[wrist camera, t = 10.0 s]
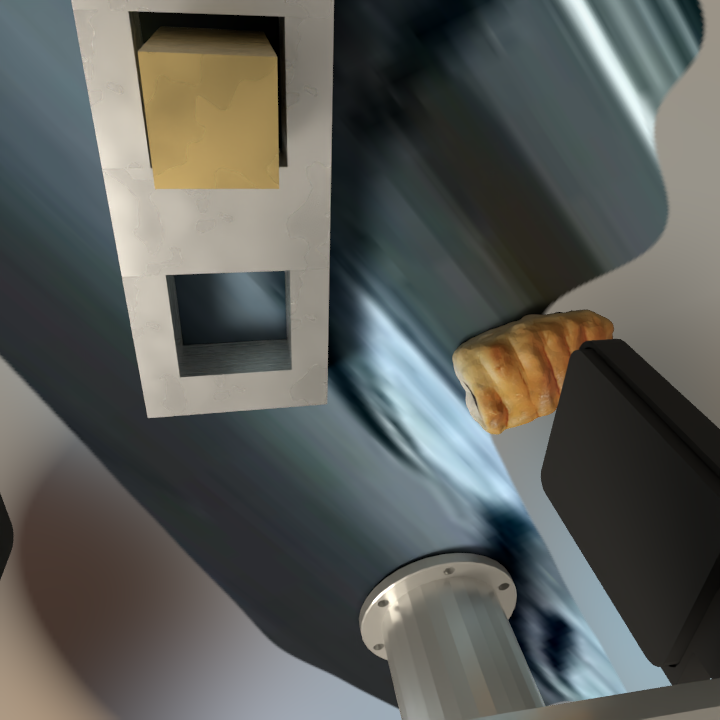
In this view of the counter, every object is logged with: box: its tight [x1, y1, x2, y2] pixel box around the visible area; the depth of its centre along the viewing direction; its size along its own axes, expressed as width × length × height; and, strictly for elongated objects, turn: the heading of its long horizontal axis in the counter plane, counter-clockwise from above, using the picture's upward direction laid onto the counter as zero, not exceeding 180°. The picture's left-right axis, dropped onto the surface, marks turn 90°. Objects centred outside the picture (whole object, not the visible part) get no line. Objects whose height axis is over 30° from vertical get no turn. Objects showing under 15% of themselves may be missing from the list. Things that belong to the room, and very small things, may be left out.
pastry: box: [452, 310, 614, 434], centre depth 35 cm, size 9×7×4 cm
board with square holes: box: [71, 0, 334, 418], centre depth 27 cm, size 20×9×3 cm, turn 177°
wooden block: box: [138, 26, 279, 189], centre depth 22 cm, size 4×4×8 cm
